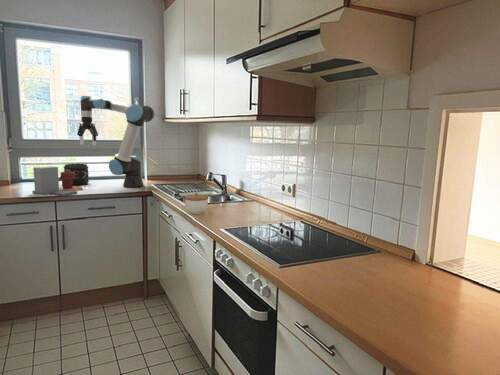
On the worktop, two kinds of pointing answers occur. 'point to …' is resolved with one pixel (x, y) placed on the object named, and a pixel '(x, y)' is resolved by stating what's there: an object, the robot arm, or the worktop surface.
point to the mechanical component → (67, 179)
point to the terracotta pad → (71, 188)
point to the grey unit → (46, 180)
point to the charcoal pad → (64, 193)
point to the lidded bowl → (196, 203)
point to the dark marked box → (78, 173)
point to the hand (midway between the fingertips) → (88, 145)
